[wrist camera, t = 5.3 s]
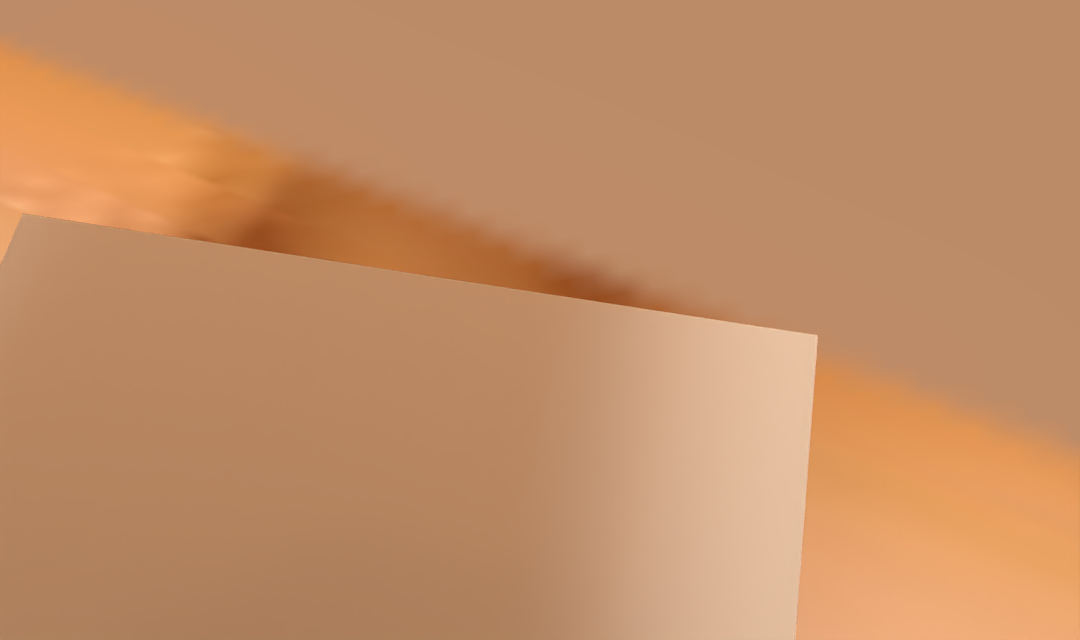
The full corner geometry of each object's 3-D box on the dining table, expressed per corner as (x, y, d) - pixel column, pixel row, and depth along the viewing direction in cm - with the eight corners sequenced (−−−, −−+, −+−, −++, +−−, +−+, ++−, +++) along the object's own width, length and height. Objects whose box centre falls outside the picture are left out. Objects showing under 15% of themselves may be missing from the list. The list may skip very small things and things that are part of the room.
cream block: (605, 712, 14) (701, 1906, 2) (402, 666, 14) (-483, 1394, 3) (638, 474, 15) (819, 335, 3) (451, 439, 16) (24, 213, 4)
